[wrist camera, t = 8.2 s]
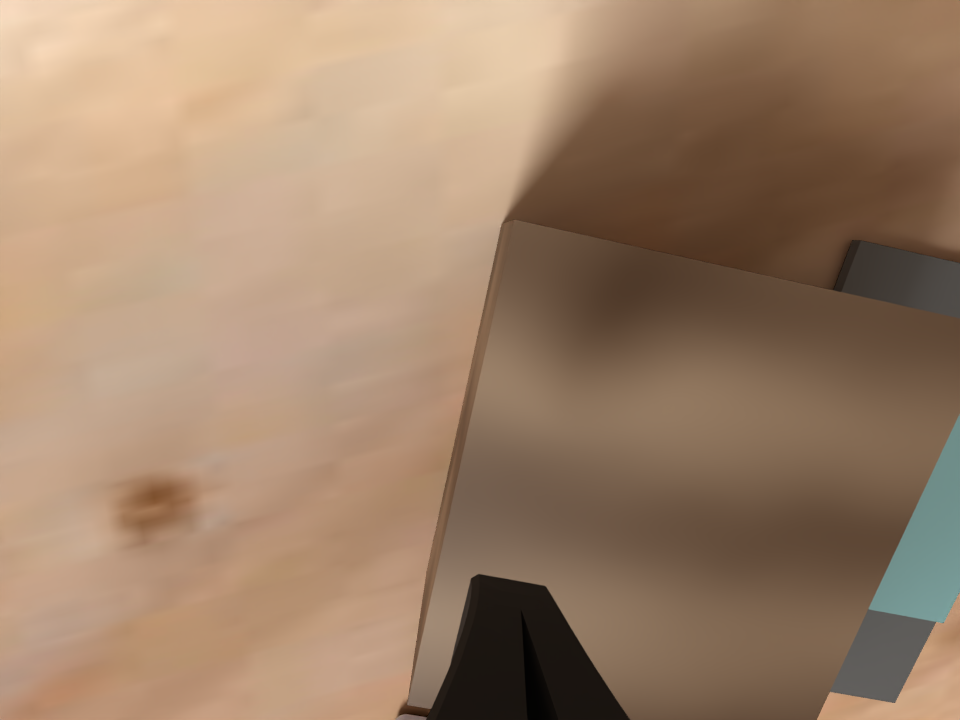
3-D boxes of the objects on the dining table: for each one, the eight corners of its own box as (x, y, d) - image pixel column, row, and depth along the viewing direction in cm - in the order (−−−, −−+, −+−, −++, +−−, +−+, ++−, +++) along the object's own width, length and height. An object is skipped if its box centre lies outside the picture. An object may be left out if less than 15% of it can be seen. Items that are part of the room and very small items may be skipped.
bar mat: (887, 694, 22) (894, 702, 22) (692, 660, 22) (696, 668, 21) (1088, 294, 18) (1102, 295, 18) (852, 240, 18) (860, 240, 17)
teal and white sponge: (819, 600, 19) (794, 574, 20) (943, 623, 19) (910, 595, 21) (906, 400, 17) (873, 387, 18) (1043, 428, 17) (999, 413, 19)
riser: (707, 622, 21) (793, 768, 16) (426, 572, 21) (407, 704, 15) (830, 296, 18) (1000, 327, 12) (501, 223, 17) (514, 219, 12)
